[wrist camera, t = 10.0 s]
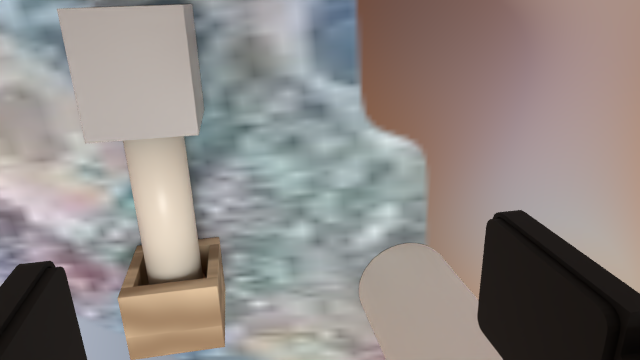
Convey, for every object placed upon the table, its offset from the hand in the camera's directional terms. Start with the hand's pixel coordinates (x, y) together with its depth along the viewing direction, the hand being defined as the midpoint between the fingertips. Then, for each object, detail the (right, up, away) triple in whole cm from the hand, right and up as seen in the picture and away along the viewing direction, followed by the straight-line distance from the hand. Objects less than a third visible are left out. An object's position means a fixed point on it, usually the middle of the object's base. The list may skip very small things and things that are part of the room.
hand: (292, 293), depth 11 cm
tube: (-12, +1, +28) cm, 31 cm away
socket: (-12, -5, +33) cm, 35 cm away
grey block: (-12, +12, +26) cm, 31 cm away
